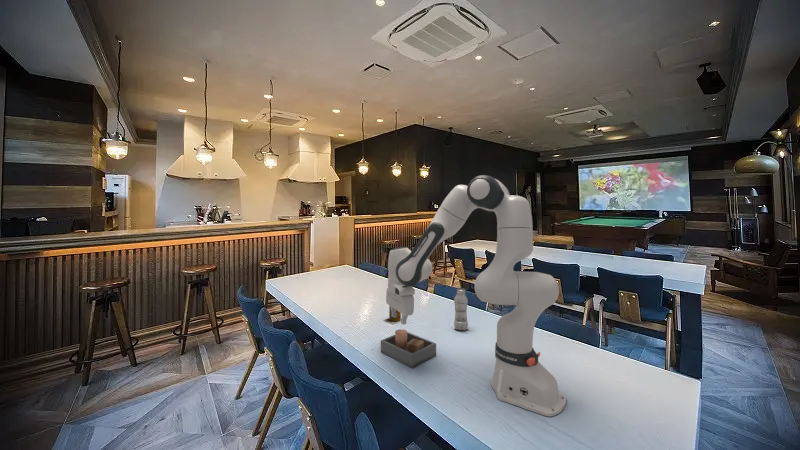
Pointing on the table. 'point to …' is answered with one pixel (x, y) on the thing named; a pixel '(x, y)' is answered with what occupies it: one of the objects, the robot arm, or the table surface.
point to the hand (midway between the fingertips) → (398, 320)
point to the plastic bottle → (460, 310)
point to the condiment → (393, 320)
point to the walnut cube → (415, 345)
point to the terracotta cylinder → (401, 339)
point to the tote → (404, 355)
